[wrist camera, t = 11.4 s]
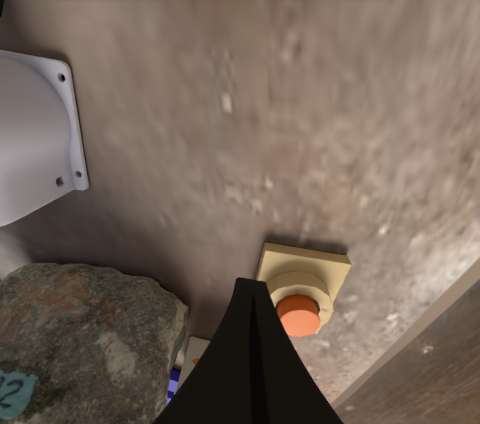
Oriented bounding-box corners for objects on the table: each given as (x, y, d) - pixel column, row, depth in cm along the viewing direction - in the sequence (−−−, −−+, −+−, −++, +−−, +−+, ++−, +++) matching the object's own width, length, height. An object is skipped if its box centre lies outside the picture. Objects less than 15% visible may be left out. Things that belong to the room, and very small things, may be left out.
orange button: (309, 322, 23) (313, 339, 21) (273, 317, 23) (274, 333, 21) (321, 297, 21) (326, 313, 20) (282, 291, 21) (284, 306, 19)
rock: (-204, 525, 14) (-467, 557, 8) (6, 286, 27) (-32, 225, 21) (151, 519, 18) (161, 536, 12) (188, 312, 31) (202, 267, 24)
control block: (315, 323, 27) (321, 349, 24) (246, 312, 26) (245, 337, 24) (347, 255, 22) (360, 277, 19) (264, 241, 22) (266, 262, 19)
